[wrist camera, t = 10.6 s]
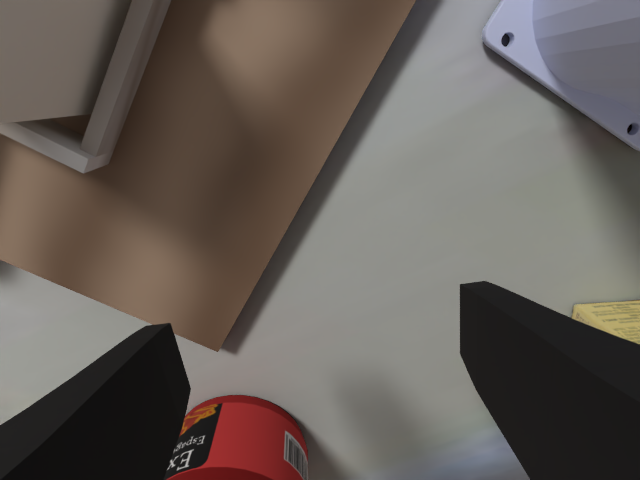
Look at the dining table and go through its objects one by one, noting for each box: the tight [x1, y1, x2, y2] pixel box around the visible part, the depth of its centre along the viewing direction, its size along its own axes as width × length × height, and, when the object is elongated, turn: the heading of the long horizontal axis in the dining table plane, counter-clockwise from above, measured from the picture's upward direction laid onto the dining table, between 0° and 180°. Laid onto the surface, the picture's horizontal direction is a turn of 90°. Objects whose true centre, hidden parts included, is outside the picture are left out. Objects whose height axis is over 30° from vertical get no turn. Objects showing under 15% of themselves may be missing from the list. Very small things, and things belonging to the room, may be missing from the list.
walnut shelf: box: [0, 0, 416, 352], centre depth 14 cm, size 15×26×4 cm, turn 151°
